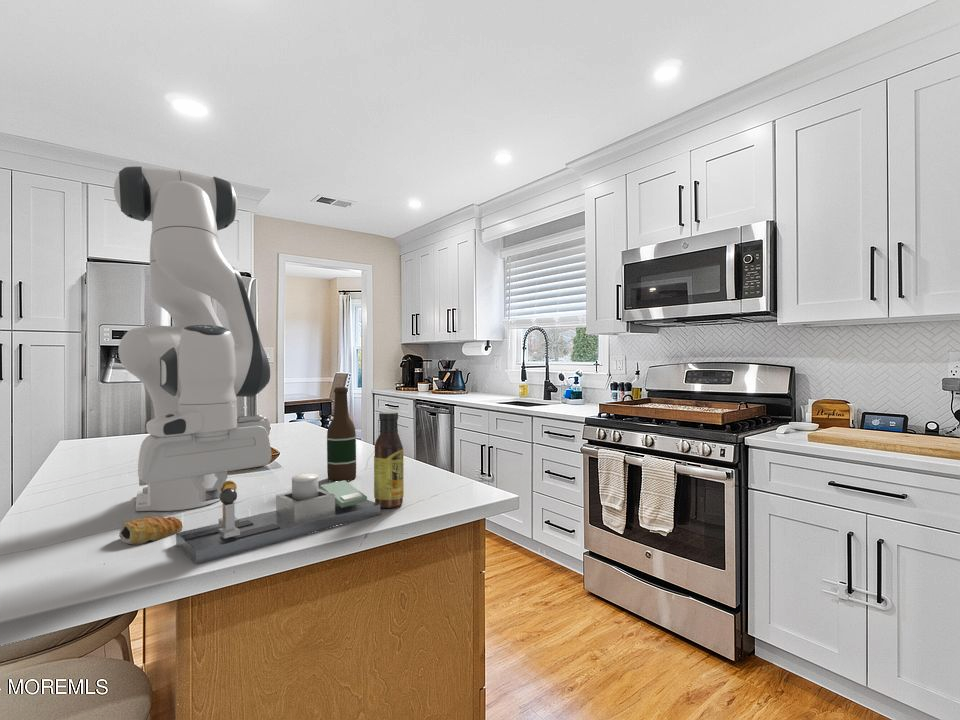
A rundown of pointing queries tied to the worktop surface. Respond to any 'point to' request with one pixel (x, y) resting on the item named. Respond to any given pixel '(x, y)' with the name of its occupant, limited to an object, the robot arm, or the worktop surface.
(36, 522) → the worktop surface
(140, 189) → the robot arm
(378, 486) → the sauce bottle
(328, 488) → the rocker
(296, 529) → the board
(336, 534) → the worktop surface
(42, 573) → the worktop surface
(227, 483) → the slider
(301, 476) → the button
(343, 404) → the beer bottle
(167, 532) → the pastry
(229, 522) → the slider
